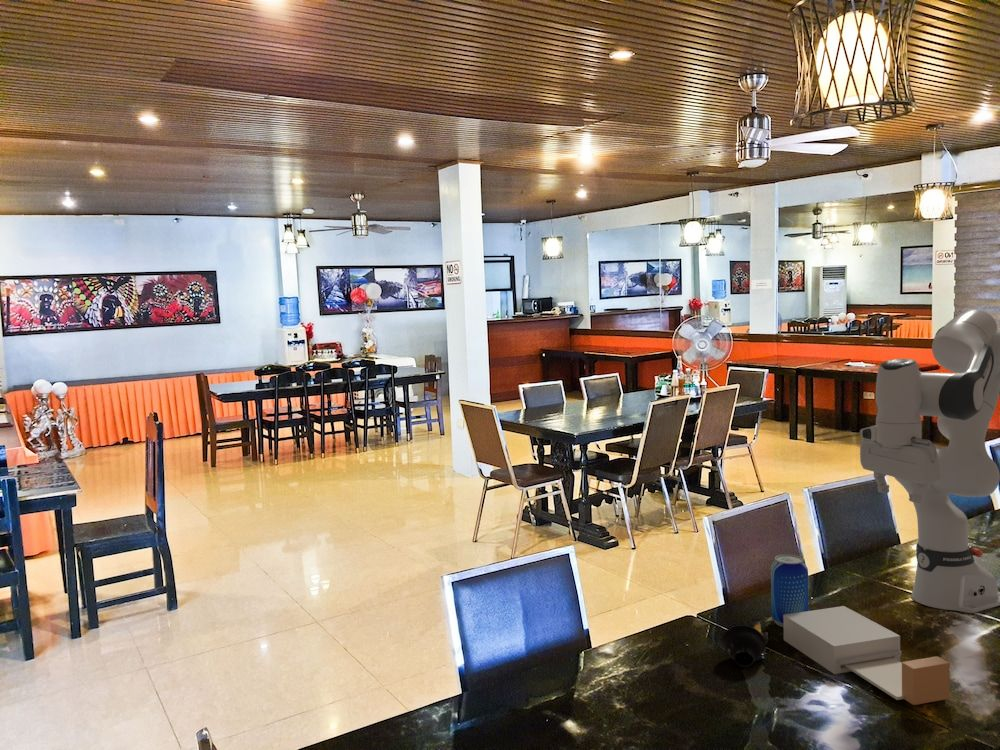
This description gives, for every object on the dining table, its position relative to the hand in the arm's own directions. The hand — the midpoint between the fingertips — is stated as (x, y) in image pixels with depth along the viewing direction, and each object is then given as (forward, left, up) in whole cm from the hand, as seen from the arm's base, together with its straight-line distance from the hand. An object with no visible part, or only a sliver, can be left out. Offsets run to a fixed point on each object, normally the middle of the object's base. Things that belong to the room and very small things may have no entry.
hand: (898, 497), depth 169 cm
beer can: (+14, -20, -34) cm, 42 cm away
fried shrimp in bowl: (+32, -8, -34) cm, 48 cm away
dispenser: (+13, -3, -34) cm, 37 cm away
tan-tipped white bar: (+13, +12, -33) cm, 37 cm away
